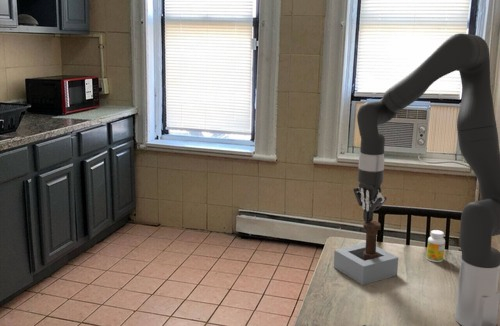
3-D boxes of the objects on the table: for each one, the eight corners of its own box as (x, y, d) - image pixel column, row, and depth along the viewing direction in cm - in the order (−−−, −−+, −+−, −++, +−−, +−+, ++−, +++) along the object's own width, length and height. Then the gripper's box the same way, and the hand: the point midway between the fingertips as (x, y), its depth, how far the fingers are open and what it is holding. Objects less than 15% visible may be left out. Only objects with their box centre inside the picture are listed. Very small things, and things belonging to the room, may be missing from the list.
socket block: (397, 275, 165) (398, 257, 164) (362, 284, 158) (363, 266, 157) (367, 258, 177) (368, 242, 175) (333, 267, 170) (334, 250, 169)
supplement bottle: (422, 257, 178) (425, 230, 176) (435, 254, 180) (437, 228, 178) (434, 263, 174) (437, 236, 171) (446, 260, 176) (449, 233, 173)
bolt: (378, 272, 163) (381, 226, 160) (362, 271, 163) (364, 225, 160) (376, 265, 168) (379, 220, 165) (360, 264, 169) (363, 219, 166)
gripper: (396, 170, 156) (391, 226, 160) (366, 161, 167) (362, 213, 171) (376, 173, 152) (373, 230, 156) (347, 164, 163) (344, 216, 168)
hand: (367, 221), depth 164 cm, fingers closed
